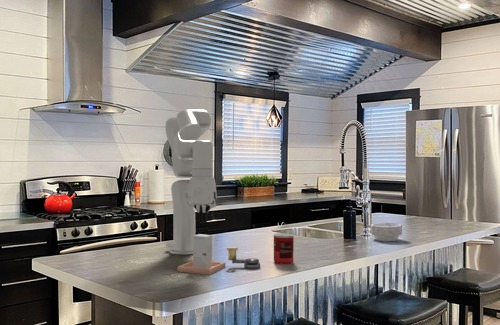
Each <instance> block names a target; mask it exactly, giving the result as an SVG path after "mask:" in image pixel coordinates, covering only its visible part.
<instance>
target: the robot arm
mask: <svg viewBox="0 0 500 325" xmlns="http://www.w3.org/2000/svg"><path fill="white" fill-rule="evenodd" d="M211 123H212V116H211V115H210V113H209V111H207V110H205V109H191V108H190V109H189V108H188V109H182V110H180V111H178V113H177V115H176V116H173V117H170V118H168V119H167V120H166V122H165V126H164V128H165V135H166V140H167V141H168V143H169V145H170V149H171V159H172V160H171V161H172V162H171V163H172V170H173V175H174V176H175V177H176V178H179V179H178V180H176V181H173V183H172V184H171V188H170V191H171V199H172V209H173V210H172V211H173V214H172V215H173V225H172V226H173V241H167V242H166V244H165V245H166V247H168V248H169V247H170V248H171V249H170V250H169V253H170V254H172V255H182V256H183V255H187V256H188V255H193V239H194V235H196V212H197V220H198V224H203V225H204V224H207V223H208V213H209V212H210V210H211V209H215V208H216V207H217V201H218V200H217V197H218V196H217V185H216V179H215V177H214V144H213V142H212V141H211V140H208V139H207V140H206V139H205V140H204V139H203V140H202V139H201V140H200V139H199V138H201V137H202V136H203V135H205V134H206V132H208V131H209V129H210V127H211V125H212V124H211ZM195 210H196V211H195Z"/></svg>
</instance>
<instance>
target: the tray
mask: <svg viewBox="0 0 500 325" xmlns="http://www.w3.org/2000/svg"><path fill="white" fill-rule="evenodd" d="M224 268H226V262H222V261H213V260H212V267H211V268H209V269H206V268H195V267H193V260H191V261H188V262H186V263H184V264H181V265H178V266H177V272H178V273H179V272H180V273H181V272H182V273H190V274H192V273H193V274H200V275H201V274H202V275H211V274H213V273H216V272H218V271H220V270H222V269H224Z"/></svg>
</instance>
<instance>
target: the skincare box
mask: <svg viewBox="0 0 500 325" xmlns="http://www.w3.org/2000/svg"><path fill="white" fill-rule="evenodd" d="M192 261H193V267H195V268H206V269H209V268H211V267H212V261H213V235H211V234H202V233H198V234H195V235H194V239H193V254H192Z"/></svg>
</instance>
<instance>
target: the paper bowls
mask: <svg viewBox="0 0 500 325" xmlns="http://www.w3.org/2000/svg"><path fill="white" fill-rule="evenodd" d="M370 235H373V236H374V239H375V240H376V241H379V242H396V241H397V240H398V239H399V237H400V236H402V235H403V225H402V224H400V223H393V222H377V223H372V224H370Z"/></svg>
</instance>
